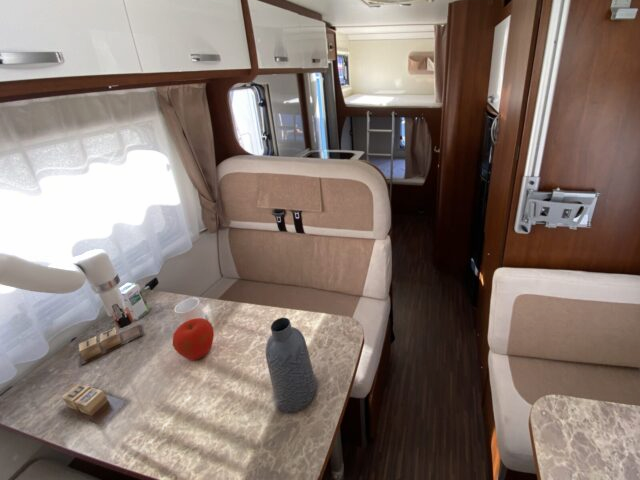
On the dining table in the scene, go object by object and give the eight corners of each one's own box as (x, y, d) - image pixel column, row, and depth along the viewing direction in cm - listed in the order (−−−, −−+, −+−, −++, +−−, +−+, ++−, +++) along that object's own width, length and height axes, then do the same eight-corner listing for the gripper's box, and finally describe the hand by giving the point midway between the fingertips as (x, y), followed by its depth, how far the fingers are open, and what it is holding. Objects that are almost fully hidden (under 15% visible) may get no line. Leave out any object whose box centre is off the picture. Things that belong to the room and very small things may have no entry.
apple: (172, 362, 104) (158, 332, 99) (202, 335, 114) (191, 307, 109) (198, 373, 100) (185, 343, 94) (226, 344, 110) (217, 315, 105)
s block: (132, 315, 116) (127, 306, 114) (134, 322, 113) (129, 312, 111) (117, 322, 113) (112, 313, 111) (118, 329, 110) (113, 319, 108)
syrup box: (138, 321, 123) (125, 293, 117) (126, 319, 124) (112, 291, 118) (150, 310, 128) (138, 283, 122) (139, 309, 129) (126, 282, 123)
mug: (176, 321, 121) (168, 301, 117) (198, 309, 127) (191, 290, 123) (186, 337, 114) (178, 316, 110) (209, 324, 120) (202, 303, 116)
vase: (324, 381, 96) (311, 313, 85) (302, 420, 85) (285, 349, 74) (292, 370, 100) (276, 304, 89) (267, 406, 89) (246, 336, 78)
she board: (129, 404, 92) (121, 391, 89) (104, 428, 85) (95, 416, 83) (90, 390, 96) (82, 378, 94) (63, 413, 90) (54, 400, 88)
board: (83, 366, 104) (76, 354, 102) (83, 354, 109) (76, 342, 107) (143, 337, 115) (137, 325, 113) (140, 327, 120) (135, 315, 117)
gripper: (90, 277, 109) (110, 315, 116) (92, 300, 98) (114, 341, 105) (116, 267, 114) (134, 305, 121) (121, 288, 102) (141, 328, 109)
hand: (125, 321), depth 113 cm, fingers closed on s block, 4 cm apart
